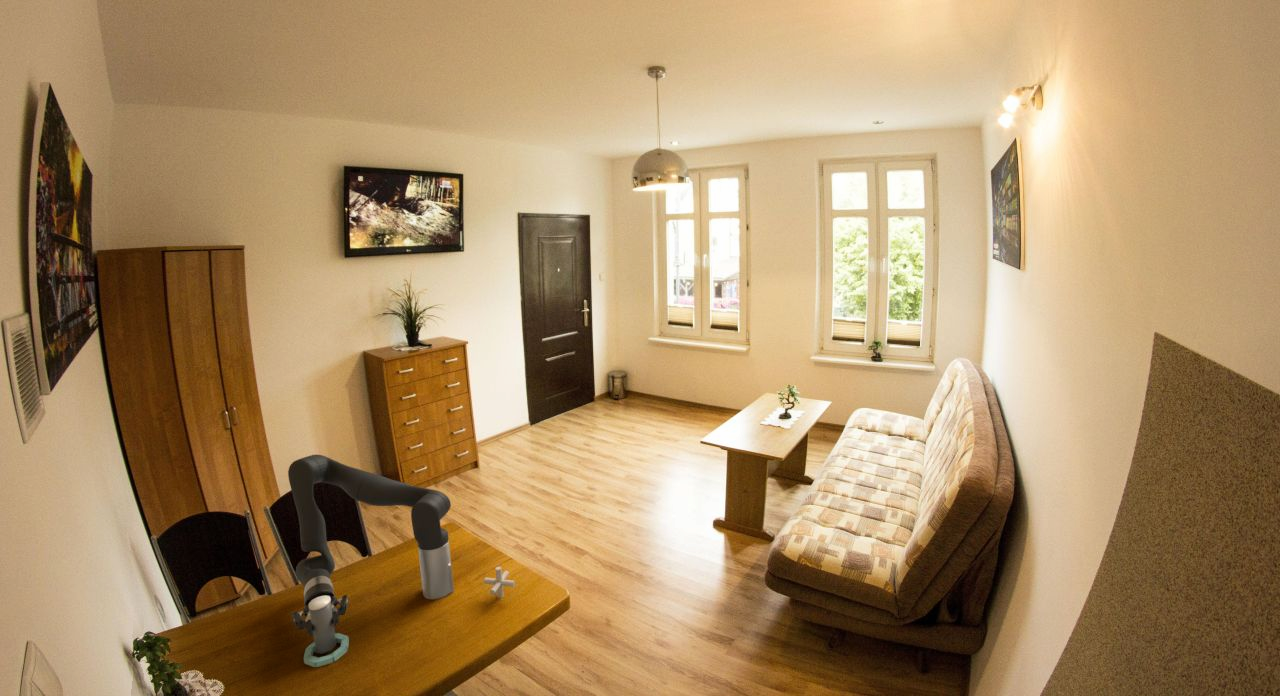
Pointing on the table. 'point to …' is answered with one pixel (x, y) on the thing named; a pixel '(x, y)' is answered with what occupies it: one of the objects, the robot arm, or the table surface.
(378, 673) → the table surface
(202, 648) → the table surface
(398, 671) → the table surface
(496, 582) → the pipe connector
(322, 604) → the cap cylinder
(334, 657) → the barrel ring
